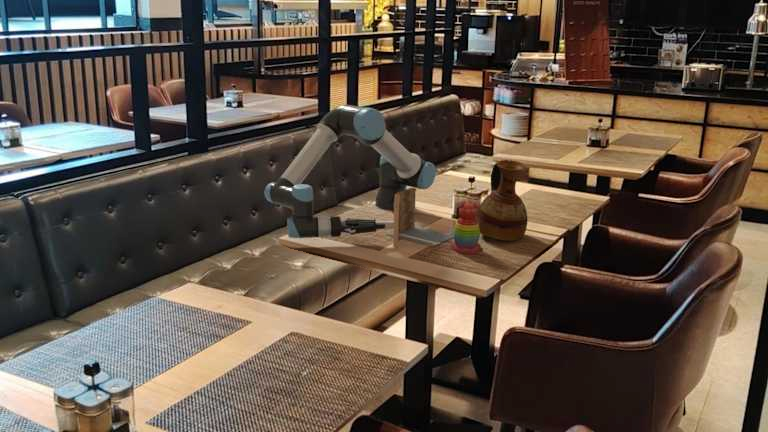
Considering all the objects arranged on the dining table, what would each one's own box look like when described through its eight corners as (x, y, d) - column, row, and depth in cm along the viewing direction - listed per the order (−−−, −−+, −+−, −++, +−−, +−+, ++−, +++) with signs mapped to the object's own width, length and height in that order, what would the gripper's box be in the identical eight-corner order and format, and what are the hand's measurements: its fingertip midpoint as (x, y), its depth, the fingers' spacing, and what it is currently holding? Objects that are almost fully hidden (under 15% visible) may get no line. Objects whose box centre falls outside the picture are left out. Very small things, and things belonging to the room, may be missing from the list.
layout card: (408, 225, 297) (408, 224, 297) (455, 237, 284) (455, 235, 284) (385, 234, 286) (385, 233, 286) (433, 246, 273) (433, 245, 273)
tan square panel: (394, 233, 285) (394, 193, 280) (399, 233, 285) (400, 194, 280) (392, 247, 270) (393, 205, 265) (398, 247, 269) (399, 205, 265)
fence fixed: (410, 226, 295) (411, 187, 290) (415, 227, 294) (416, 188, 289) (393, 233, 286) (394, 193, 281) (397, 234, 285) (398, 194, 280)
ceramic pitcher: (492, 247, 273) (497, 168, 265) (465, 231, 291) (468, 157, 282) (536, 241, 281) (542, 164, 272) (507, 226, 299) (512, 153, 290)
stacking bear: (480, 246, 275) (483, 199, 270) (481, 255, 265) (484, 207, 260) (451, 244, 276) (453, 198, 271) (451, 253, 266) (453, 206, 261)
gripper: (328, 231, 278) (390, 229, 282) (331, 242, 266) (395, 240, 270) (328, 212, 276) (390, 210, 280) (330, 222, 264) (396, 220, 267)
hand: (393, 225), depth 275 cm, fingers closed
